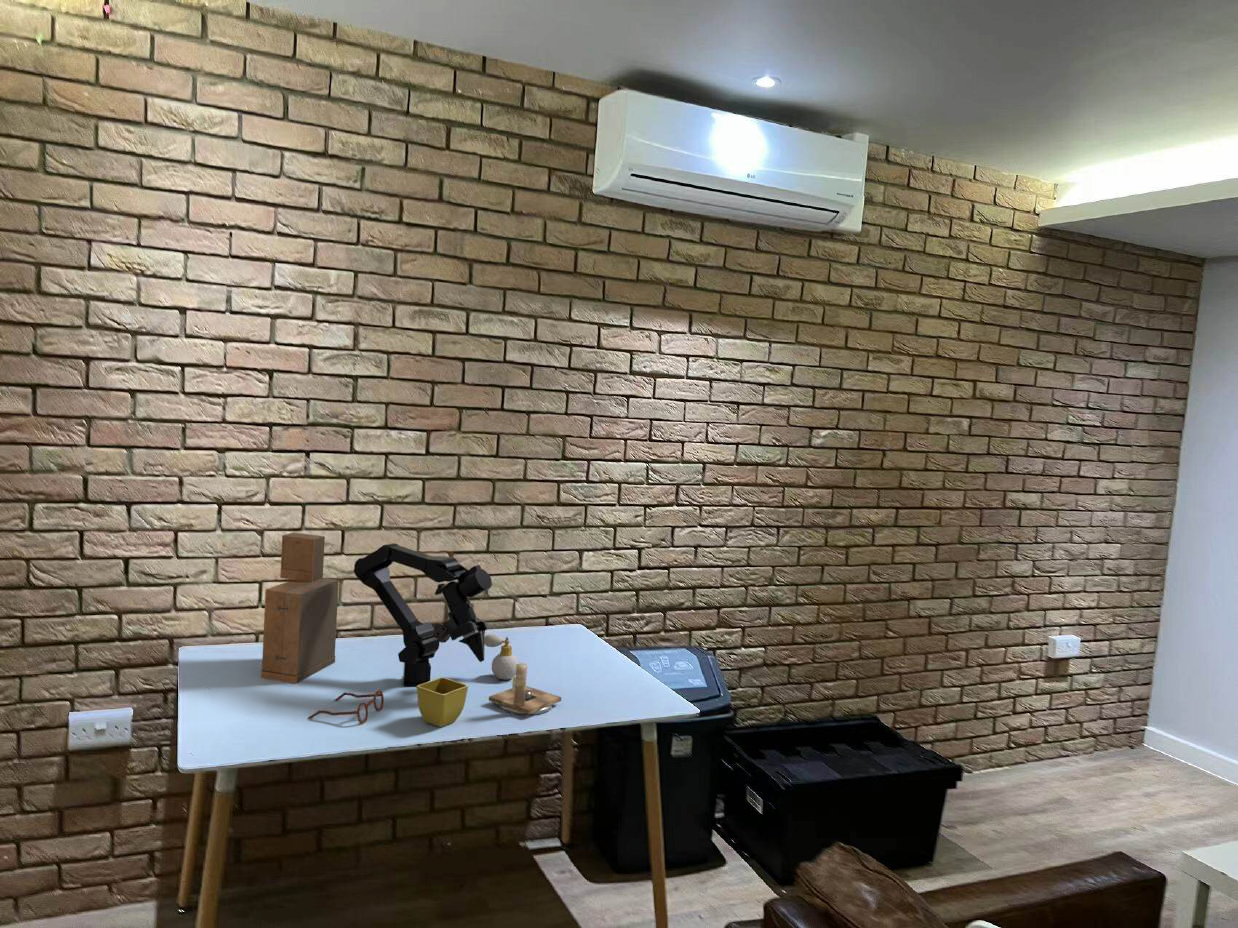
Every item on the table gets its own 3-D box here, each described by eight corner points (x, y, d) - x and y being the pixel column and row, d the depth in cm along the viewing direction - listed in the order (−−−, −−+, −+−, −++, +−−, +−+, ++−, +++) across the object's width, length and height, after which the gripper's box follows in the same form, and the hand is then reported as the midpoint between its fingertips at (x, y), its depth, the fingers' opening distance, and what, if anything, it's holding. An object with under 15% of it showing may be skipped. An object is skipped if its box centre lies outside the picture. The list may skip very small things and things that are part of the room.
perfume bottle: (521, 681, 242) (524, 639, 241) (486, 684, 238) (489, 640, 237) (513, 673, 249) (516, 631, 248) (479, 674, 245) (482, 632, 244)
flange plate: (528, 714, 216) (531, 670, 215) (488, 700, 223) (491, 657, 222) (561, 700, 227) (564, 658, 226) (521, 688, 234) (524, 647, 233)
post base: (501, 716, 216) (502, 700, 216) (491, 691, 233) (492, 677, 232) (557, 714, 220) (559, 698, 220) (543, 690, 237) (545, 676, 236)
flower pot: (440, 732, 204) (443, 694, 203) (413, 722, 208) (415, 685, 207) (466, 722, 211) (469, 685, 210) (439, 712, 216) (441, 676, 215)
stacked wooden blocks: (288, 655, 249) (294, 532, 246) (335, 662, 246) (341, 537, 243) (247, 675, 230) (252, 542, 227) (296, 683, 228) (303, 548, 225)
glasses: (360, 727, 204) (361, 706, 203) (307, 720, 206) (308, 699, 206) (384, 708, 217) (385, 688, 216) (335, 701, 219) (336, 681, 218)
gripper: (439, 616, 237) (461, 671, 234) (420, 617, 218) (443, 677, 216) (477, 599, 237) (500, 654, 234) (461, 599, 219) (485, 658, 216)
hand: (482, 661), depth 225 cm, fingers closed
